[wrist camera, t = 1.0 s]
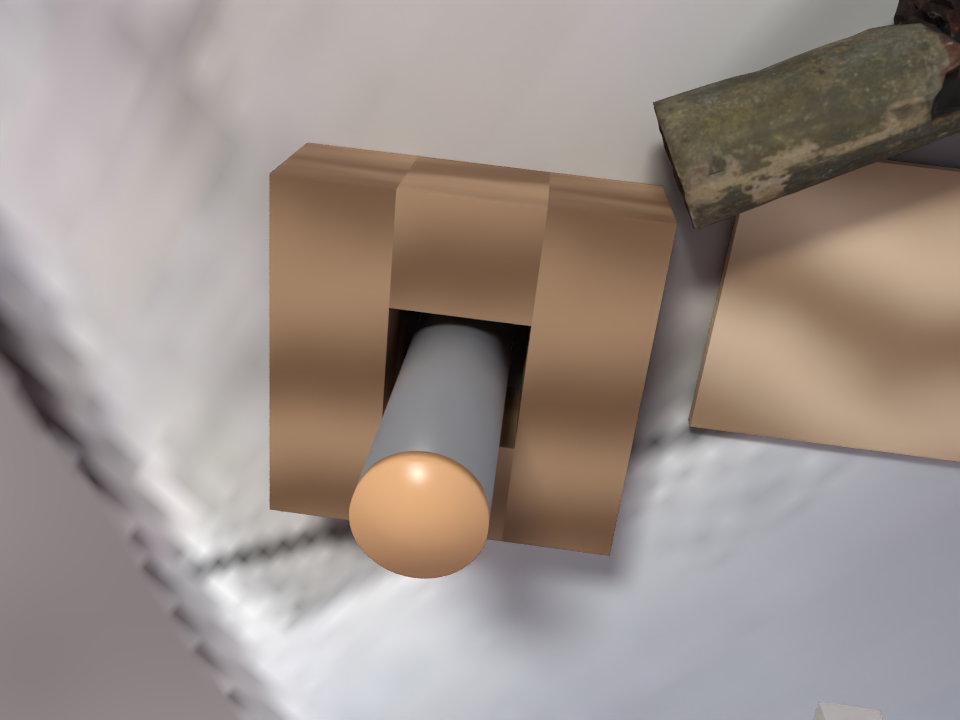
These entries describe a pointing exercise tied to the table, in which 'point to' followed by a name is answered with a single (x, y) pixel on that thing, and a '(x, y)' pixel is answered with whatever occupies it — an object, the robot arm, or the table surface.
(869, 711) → the robot arm
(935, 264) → the light brown wooden board
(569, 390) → the socket block
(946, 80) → the brown lumpy club
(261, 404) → the table surface
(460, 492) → the plug
